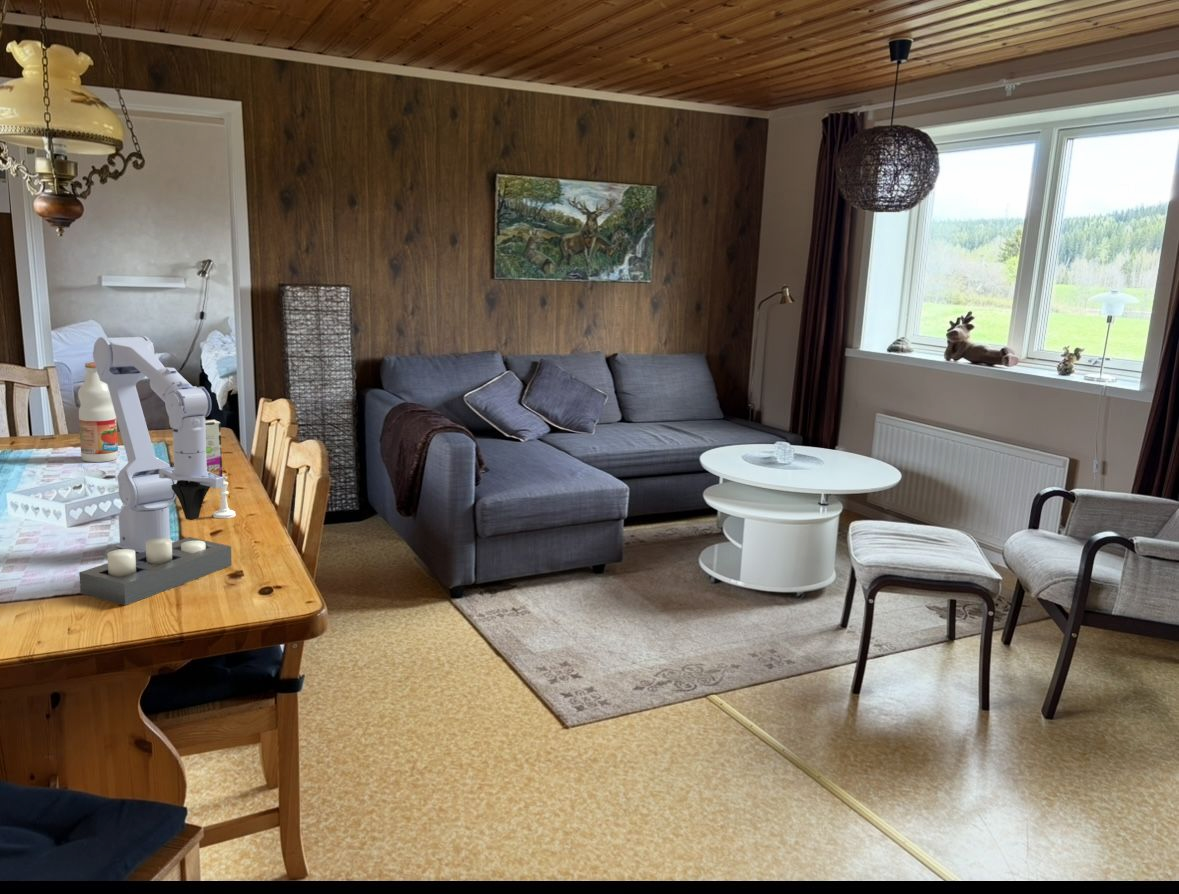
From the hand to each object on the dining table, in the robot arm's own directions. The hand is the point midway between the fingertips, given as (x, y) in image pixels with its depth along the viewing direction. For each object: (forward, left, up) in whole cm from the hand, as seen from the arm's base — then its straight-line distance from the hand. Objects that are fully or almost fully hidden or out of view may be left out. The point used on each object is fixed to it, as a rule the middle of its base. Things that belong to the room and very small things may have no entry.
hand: (192, 518), depth 169 cm
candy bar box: (-50, +49, -10) cm, 71 cm away
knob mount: (0, -8, -10) cm, 13 cm away
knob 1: (0, -16, -7) cm, 17 cm away
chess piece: (-21, +29, -10) cm, 37 cm away
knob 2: (0, 0, -10) cm, 10 cm away
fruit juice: (-91, +52, -10) cm, 105 cm away
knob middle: (0, -8, -7) cm, 11 cm away
